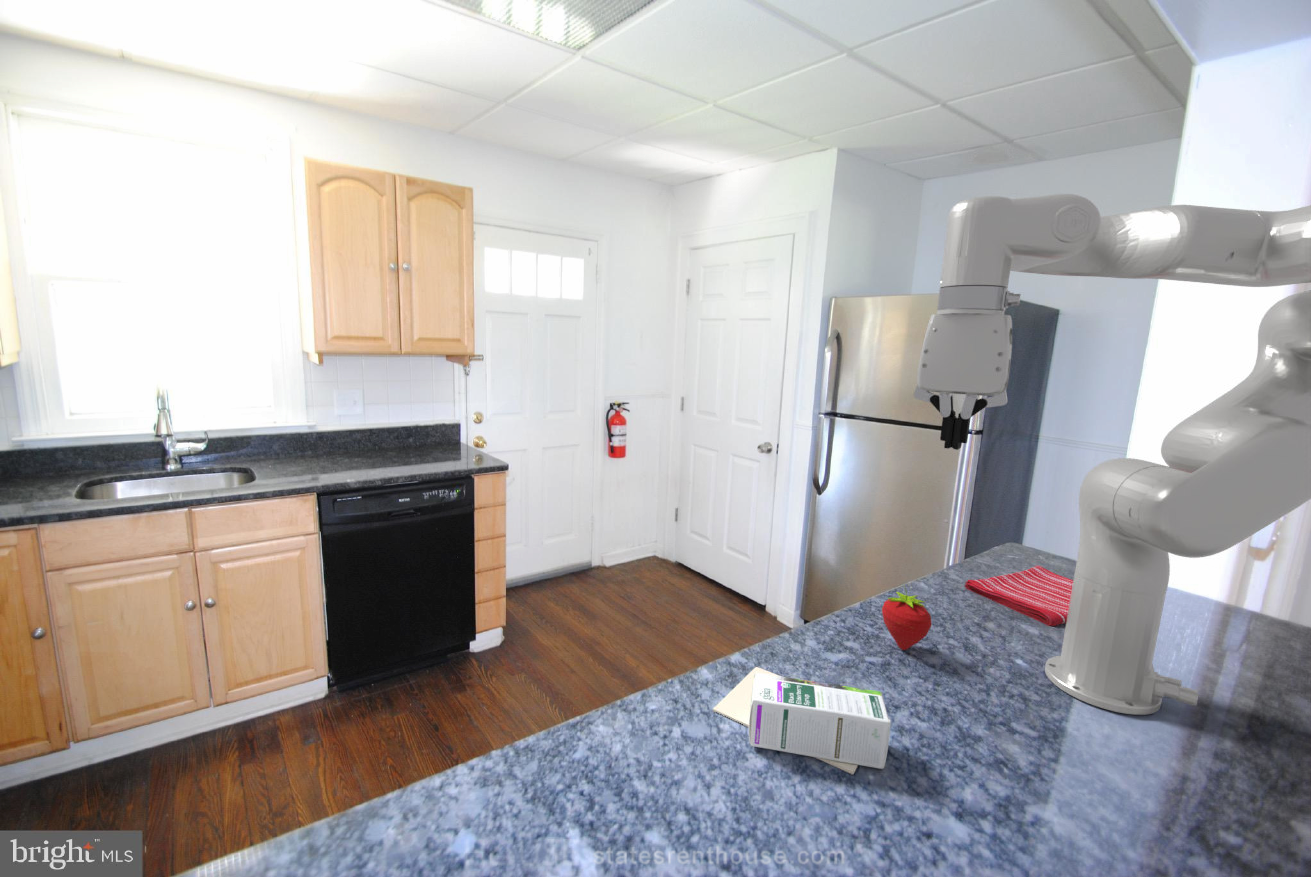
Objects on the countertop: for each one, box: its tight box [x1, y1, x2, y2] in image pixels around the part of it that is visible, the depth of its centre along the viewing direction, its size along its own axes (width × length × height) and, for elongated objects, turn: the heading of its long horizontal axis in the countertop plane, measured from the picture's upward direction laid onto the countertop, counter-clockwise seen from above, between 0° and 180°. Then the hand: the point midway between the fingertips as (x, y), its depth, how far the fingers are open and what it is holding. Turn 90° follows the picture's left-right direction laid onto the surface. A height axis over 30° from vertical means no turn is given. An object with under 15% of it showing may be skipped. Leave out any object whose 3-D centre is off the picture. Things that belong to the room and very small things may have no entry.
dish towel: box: [964, 565, 1074, 627], centre depth 108 cm, size 17×24×3 cm
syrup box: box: [748, 673, 892, 770], centre depth 65 cm, size 6×6×14 cm
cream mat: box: [712, 666, 859, 775], centre depth 70 cm, size 17×12×1 cm
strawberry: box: [881, 586, 933, 651], centre depth 86 cm, size 6×8×10 cm
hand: (952, 447), depth 75 cm, fingers closed
